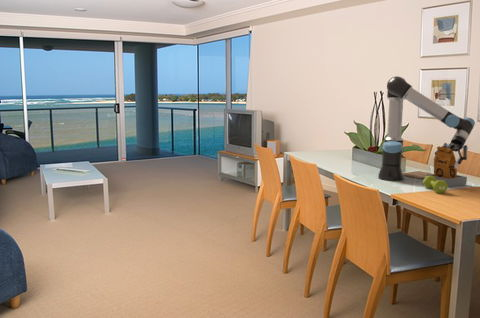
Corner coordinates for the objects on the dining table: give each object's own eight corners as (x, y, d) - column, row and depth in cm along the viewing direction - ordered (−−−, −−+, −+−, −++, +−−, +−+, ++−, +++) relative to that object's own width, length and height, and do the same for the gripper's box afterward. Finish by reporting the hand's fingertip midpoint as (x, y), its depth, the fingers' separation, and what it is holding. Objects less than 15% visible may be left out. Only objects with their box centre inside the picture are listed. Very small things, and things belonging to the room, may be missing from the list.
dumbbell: (421, 187, 258) (422, 175, 257) (435, 187, 258) (436, 175, 257) (433, 193, 242) (434, 181, 241) (448, 193, 242) (449, 181, 241)
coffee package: (446, 187, 260) (447, 151, 254) (431, 181, 271) (431, 147, 266) (459, 183, 263) (460, 148, 257) (444, 178, 274) (444, 144, 269)
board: (420, 179, 280) (420, 178, 280) (398, 174, 296) (398, 173, 296) (441, 177, 289) (442, 175, 289) (419, 172, 305) (419, 171, 305)
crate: (447, 187, 257) (448, 179, 256) (426, 182, 270) (426, 174, 269) (466, 185, 265) (466, 176, 264) (444, 180, 278) (445, 172, 277)
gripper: (481, 145, 264) (466, 172, 257) (442, 141, 282) (427, 166, 276) (478, 136, 260) (463, 164, 253) (439, 133, 278) (424, 159, 271)
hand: (444, 165), depth 264 cm, fingers closed on coffee package, 12 cm apart
